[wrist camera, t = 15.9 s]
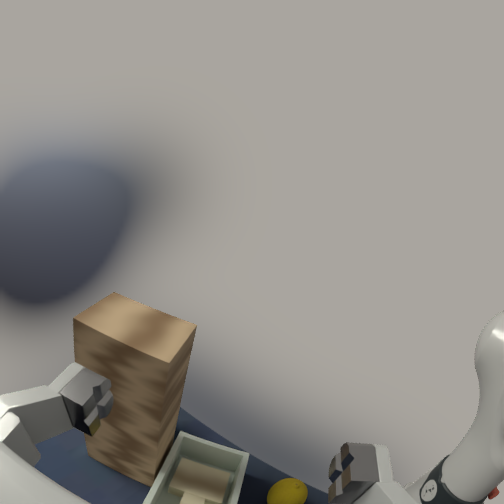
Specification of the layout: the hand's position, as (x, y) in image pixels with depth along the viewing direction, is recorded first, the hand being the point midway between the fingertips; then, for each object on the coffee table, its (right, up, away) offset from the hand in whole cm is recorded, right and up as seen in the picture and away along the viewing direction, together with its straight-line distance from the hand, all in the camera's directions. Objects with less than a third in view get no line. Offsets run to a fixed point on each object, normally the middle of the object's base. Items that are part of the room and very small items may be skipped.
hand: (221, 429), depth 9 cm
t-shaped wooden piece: (-7, -29, +22) cm, 37 cm away
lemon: (+5, -33, +25) cm, 42 cm away
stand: (-18, -26, +27) cm, 41 cm away
